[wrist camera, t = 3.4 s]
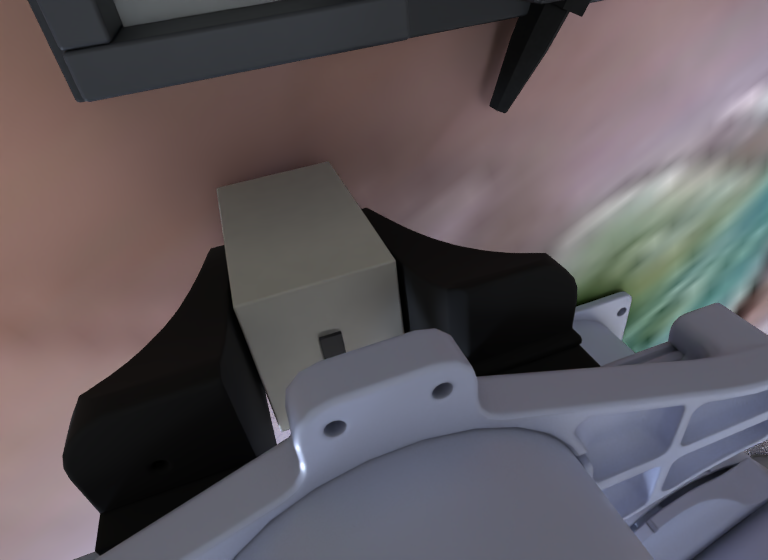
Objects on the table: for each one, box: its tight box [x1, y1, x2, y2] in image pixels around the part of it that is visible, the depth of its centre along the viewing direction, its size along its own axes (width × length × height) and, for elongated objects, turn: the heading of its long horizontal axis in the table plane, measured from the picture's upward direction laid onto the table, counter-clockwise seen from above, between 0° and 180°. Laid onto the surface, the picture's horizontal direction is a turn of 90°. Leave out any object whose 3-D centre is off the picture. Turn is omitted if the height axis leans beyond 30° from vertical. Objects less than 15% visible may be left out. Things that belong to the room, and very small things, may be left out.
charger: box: [217, 161, 404, 431], centre depth 13 cm, size 4×3×6 cm
